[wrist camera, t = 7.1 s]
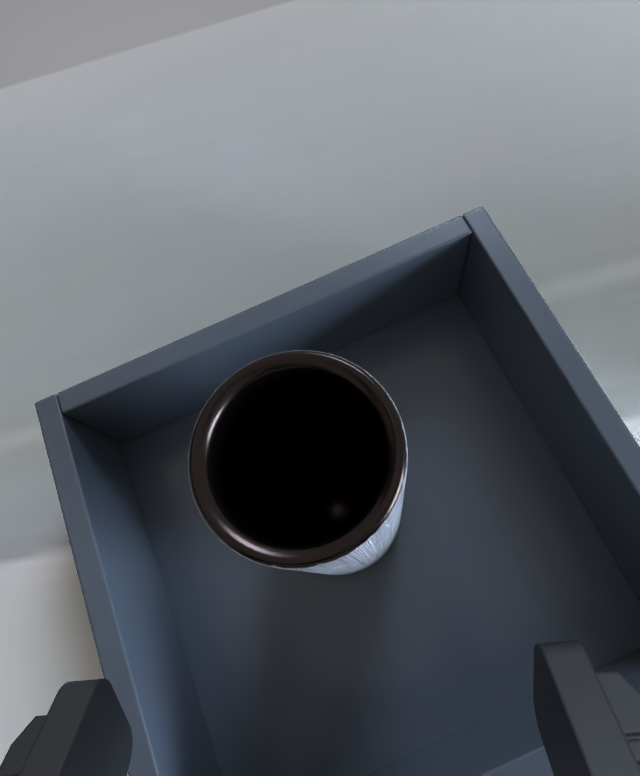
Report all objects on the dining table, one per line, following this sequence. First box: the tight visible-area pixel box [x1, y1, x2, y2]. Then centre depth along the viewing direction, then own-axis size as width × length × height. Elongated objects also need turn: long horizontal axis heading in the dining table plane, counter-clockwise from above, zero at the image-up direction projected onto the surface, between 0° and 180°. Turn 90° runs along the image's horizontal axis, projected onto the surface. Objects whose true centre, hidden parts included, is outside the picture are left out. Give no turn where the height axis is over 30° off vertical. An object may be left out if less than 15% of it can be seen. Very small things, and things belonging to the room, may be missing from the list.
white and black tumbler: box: [188, 350, 408, 575], centre depth 16 cm, size 4×4×10 cm
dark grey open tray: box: [35, 207, 640, 776], centre depth 19 cm, size 17×16×5 cm
